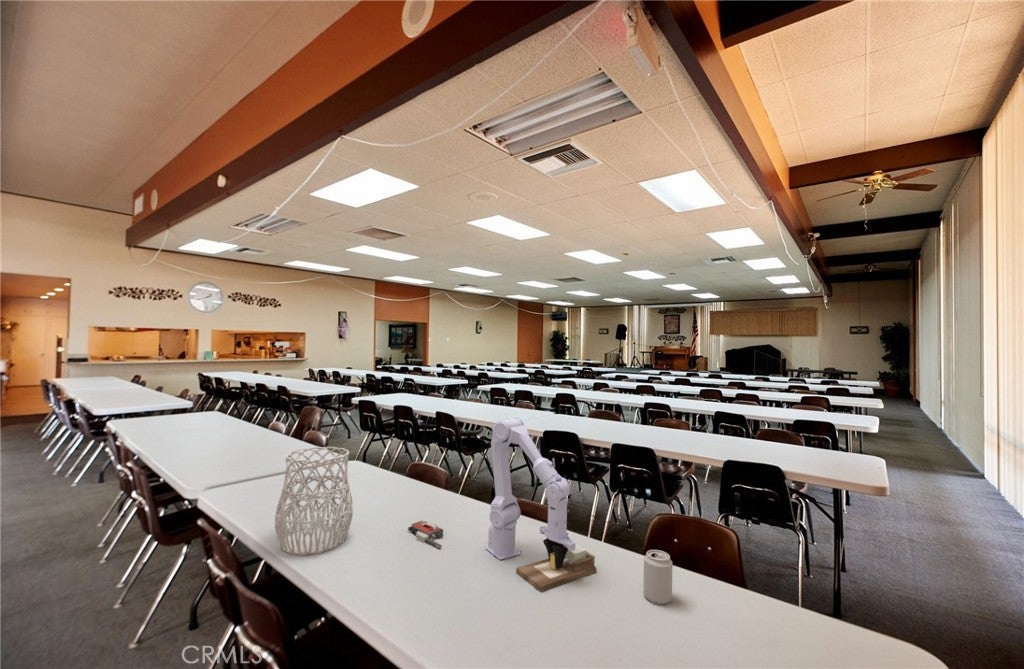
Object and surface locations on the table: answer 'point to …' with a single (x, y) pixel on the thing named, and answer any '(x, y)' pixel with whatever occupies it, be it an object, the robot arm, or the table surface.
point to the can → (657, 577)
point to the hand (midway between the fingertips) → (556, 565)
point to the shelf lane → (555, 572)
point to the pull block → (570, 556)
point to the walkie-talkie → (426, 532)
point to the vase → (321, 536)
